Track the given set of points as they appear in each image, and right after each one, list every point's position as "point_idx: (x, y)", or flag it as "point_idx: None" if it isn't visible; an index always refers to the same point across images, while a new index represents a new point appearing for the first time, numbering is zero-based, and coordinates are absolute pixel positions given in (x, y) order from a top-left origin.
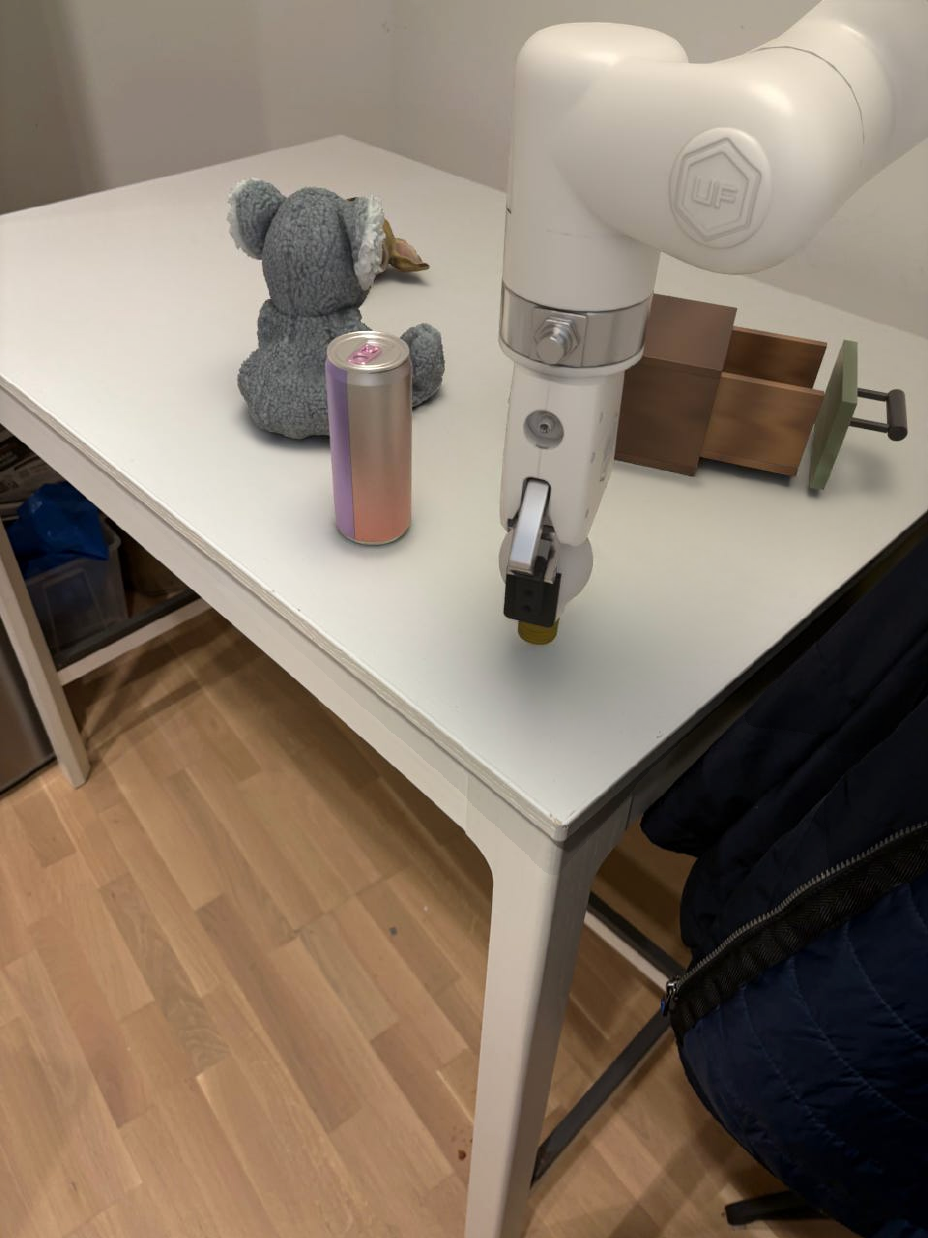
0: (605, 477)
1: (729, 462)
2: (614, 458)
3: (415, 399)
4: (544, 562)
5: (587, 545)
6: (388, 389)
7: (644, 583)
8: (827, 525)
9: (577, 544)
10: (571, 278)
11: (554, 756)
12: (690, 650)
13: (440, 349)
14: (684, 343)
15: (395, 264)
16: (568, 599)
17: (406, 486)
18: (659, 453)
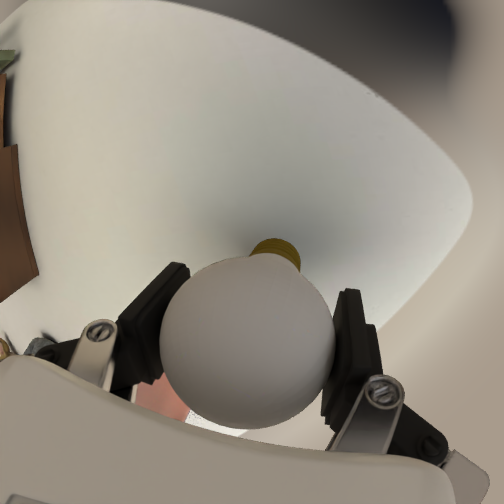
0: (107, 494)
1: (2, 123)
2: (23, 211)
3: None
4: (404, 442)
5: (225, 318)
6: None
7: (130, 142)
8: (40, 31)
9: (446, 474)
10: None
11: (425, 210)
12: (218, 68)
13: (27, 353)
14: None
15: (8, 351)
16: (311, 283)
17: (148, 399)
18: (8, 180)
